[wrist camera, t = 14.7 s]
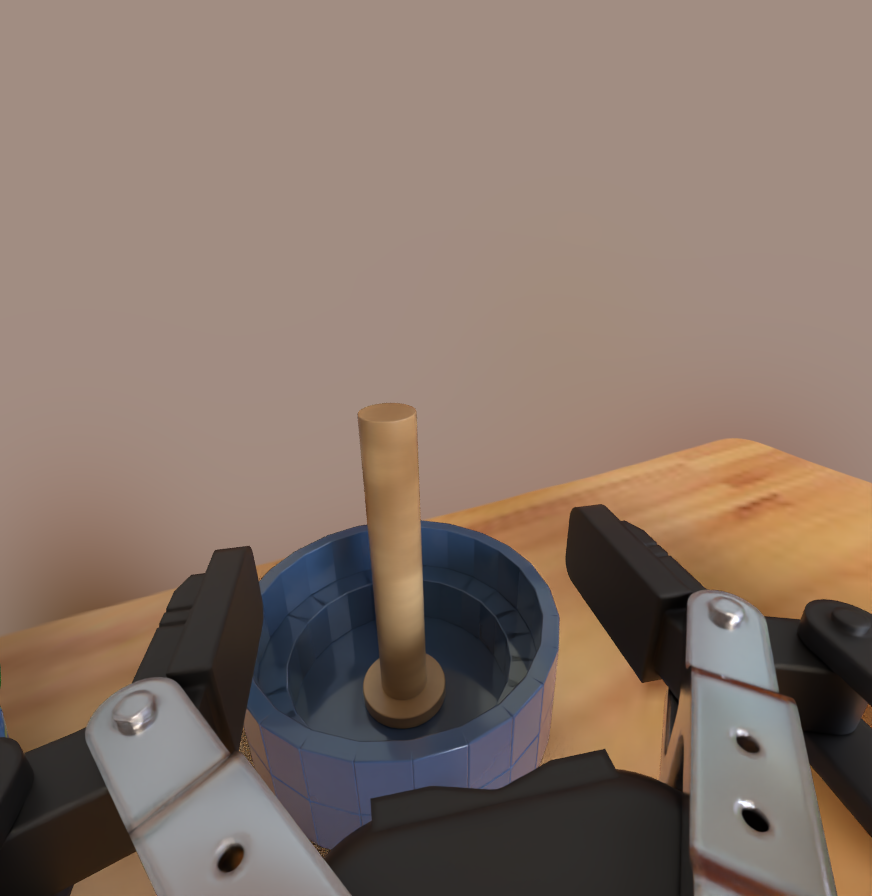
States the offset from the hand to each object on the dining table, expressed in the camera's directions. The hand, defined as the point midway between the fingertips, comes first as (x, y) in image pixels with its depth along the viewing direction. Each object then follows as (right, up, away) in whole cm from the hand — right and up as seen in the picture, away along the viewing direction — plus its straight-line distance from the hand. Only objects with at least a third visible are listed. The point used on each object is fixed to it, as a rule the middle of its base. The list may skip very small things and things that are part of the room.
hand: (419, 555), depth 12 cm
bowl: (-1, -11, +14) cm, 18 cm away
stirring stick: (-1, -11, +14) cm, 17 cm away
